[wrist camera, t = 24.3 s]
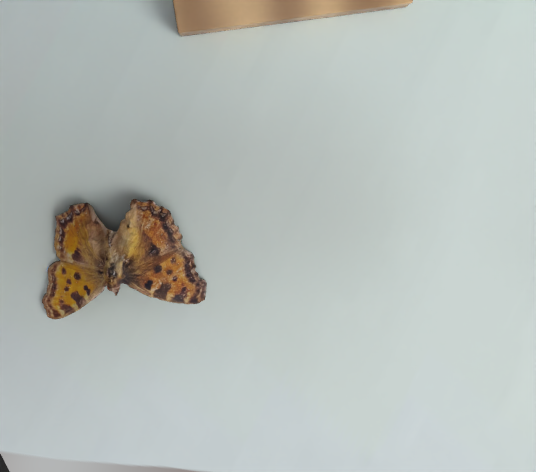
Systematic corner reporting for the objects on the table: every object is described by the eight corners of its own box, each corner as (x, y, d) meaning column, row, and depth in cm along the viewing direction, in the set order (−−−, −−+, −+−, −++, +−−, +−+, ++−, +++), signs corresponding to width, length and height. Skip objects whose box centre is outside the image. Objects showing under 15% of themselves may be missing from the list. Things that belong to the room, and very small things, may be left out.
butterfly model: (208, 299, 39) (206, 313, 36) (48, 318, 39) (33, 334, 36) (194, 190, 38) (190, 195, 35) (25, 208, 37) (7, 215, 34)
